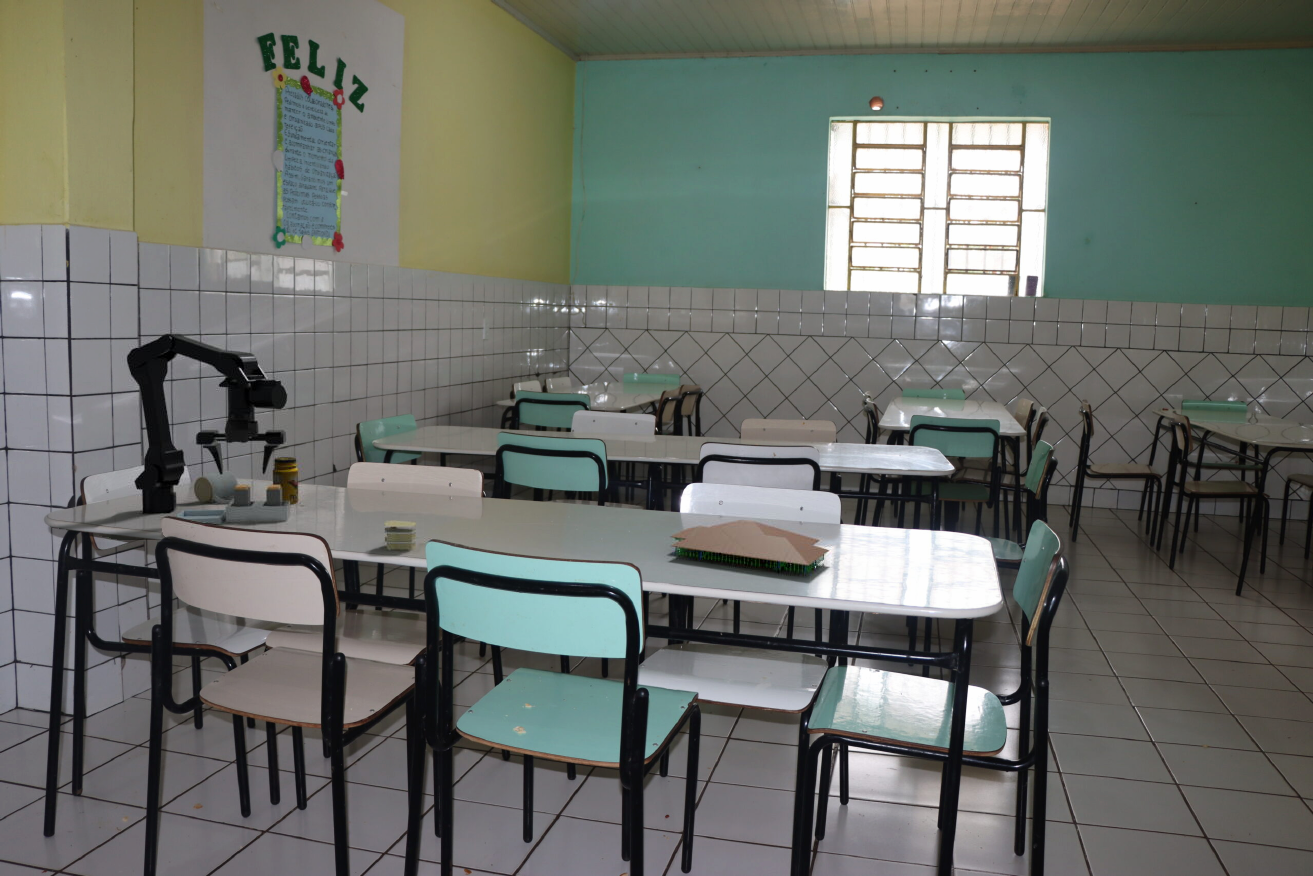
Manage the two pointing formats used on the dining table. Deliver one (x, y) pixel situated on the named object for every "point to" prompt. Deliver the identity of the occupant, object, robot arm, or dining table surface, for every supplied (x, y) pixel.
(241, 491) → the plug
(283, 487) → the condiment
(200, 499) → the ceramic mug
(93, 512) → the dining table surface
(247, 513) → the grey socket block
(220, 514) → the tray
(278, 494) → the twin plug
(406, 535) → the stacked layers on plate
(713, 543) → the house
